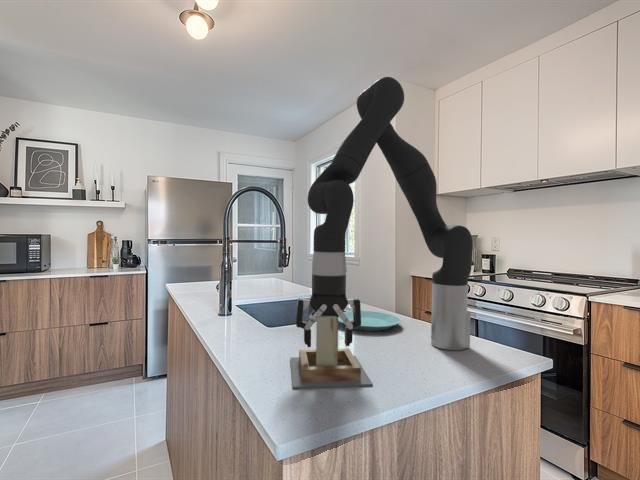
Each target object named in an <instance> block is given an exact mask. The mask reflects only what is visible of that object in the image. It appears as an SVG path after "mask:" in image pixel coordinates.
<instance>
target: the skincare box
mask: <svg viewBox="0 0 640 480" xmlns="http://www.w3.org/2000/svg"><path fill="white" fill-rule="evenodd" d="M315 333H316V334H315V335H316V337H315V339H316V344H315V345H316V346H315V349H316V367H318V366H337V365H338V349H339V347H338V346H339V321H338V318H337V316H319V317H317V321H316V332H315Z"/></svg>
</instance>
